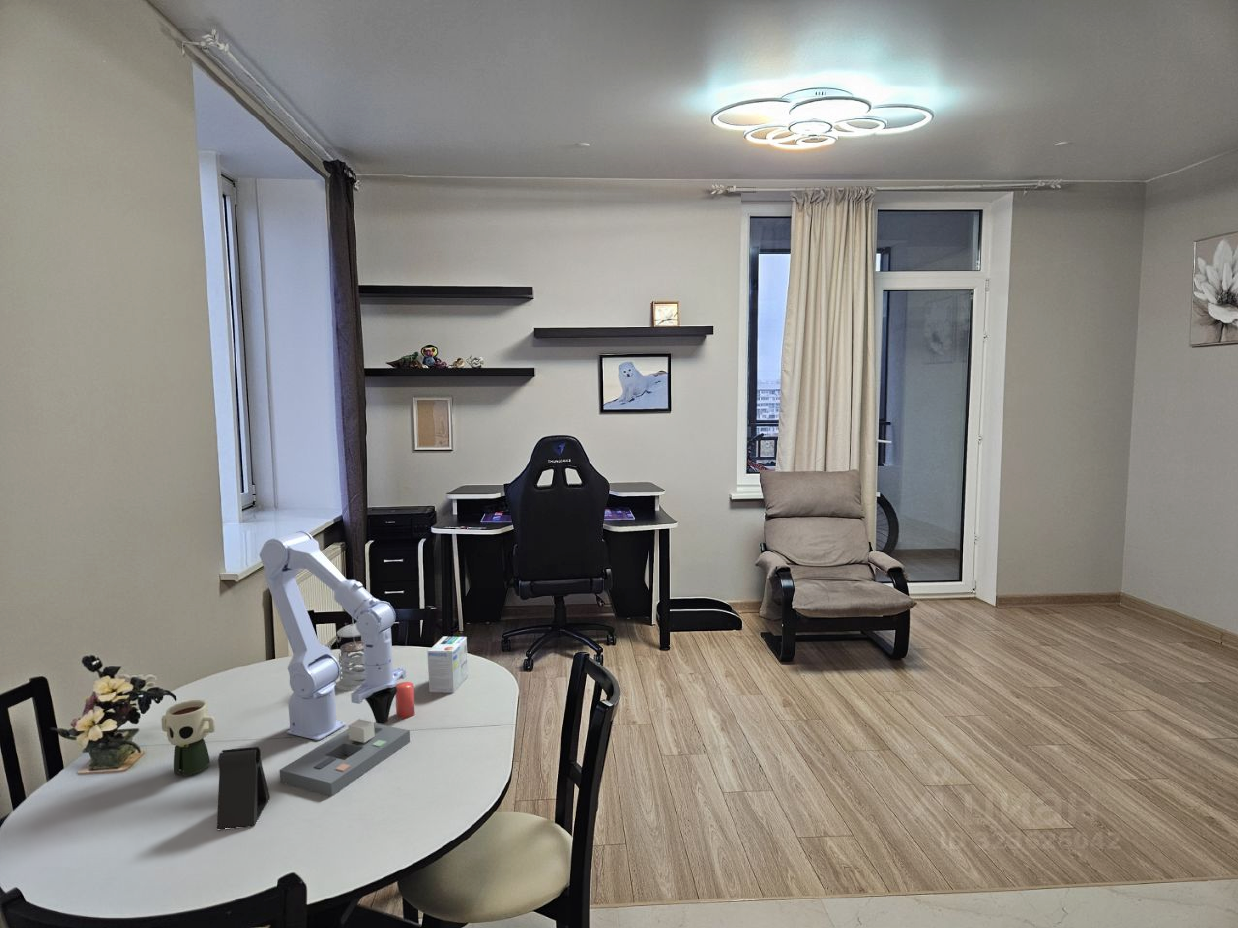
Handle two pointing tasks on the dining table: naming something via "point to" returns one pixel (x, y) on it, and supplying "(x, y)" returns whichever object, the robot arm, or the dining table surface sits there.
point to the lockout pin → (404, 700)
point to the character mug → (188, 735)
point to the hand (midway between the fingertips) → (381, 721)
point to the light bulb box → (447, 664)
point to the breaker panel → (334, 774)
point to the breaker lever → (361, 730)
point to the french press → (350, 660)
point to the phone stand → (241, 788)
